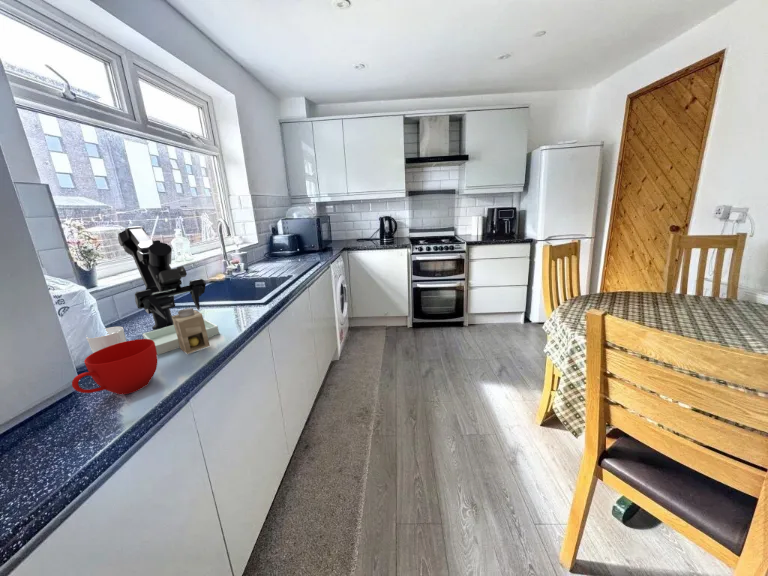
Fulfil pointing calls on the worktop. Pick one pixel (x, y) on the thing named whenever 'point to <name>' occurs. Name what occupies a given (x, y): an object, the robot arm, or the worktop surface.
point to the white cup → (107, 339)
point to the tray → (173, 337)
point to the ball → (193, 341)
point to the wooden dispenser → (190, 329)
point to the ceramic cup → (121, 367)
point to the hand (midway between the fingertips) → (183, 313)
